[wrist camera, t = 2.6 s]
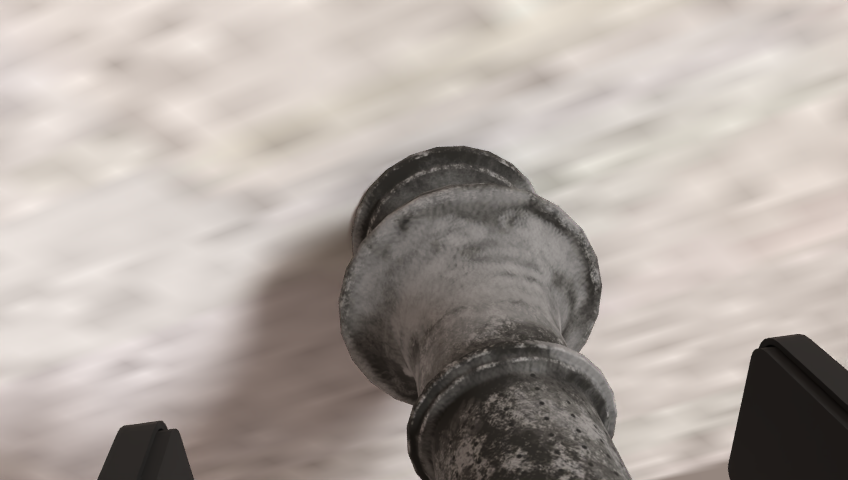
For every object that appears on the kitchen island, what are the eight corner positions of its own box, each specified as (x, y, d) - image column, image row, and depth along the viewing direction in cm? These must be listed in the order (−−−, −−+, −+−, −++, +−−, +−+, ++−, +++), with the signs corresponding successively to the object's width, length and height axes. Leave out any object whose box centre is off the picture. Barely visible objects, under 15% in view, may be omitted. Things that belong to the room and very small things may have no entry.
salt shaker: (549, 116, 16) (971, 500, 5) (559, 309, 18) (851, 832, 8) (318, 156, 16) (254, 642, 5) (362, 346, 18) (382, 932, 8)
